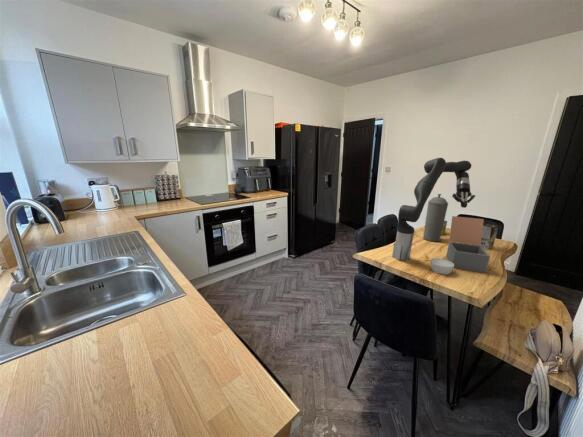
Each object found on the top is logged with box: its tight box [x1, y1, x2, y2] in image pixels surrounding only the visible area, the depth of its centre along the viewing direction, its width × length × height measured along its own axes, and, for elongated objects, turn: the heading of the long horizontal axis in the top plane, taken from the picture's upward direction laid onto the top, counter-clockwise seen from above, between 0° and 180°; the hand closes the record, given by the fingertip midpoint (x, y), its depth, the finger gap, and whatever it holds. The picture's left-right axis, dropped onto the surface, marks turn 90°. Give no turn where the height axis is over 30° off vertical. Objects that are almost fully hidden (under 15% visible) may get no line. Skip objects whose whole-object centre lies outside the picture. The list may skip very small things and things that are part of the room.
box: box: [445, 241, 491, 274], centre depth 139 cm, size 16×16×10 cm
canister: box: [422, 193, 449, 242], centre depth 175 cm, size 13×13×35 cm
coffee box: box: [477, 223, 499, 251], centre depth 164 cm, size 9×6×16 cm
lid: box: [448, 216, 485, 246], centre depth 145 cm, size 16×16×1 cm
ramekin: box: [429, 257, 454, 275], centre depth 132 cm, size 11×11×5 cm
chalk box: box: [441, 219, 448, 236], centre depth 192 cm, size 9×9×15 cm
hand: (464, 207), depth 154 cm, fingers closed
